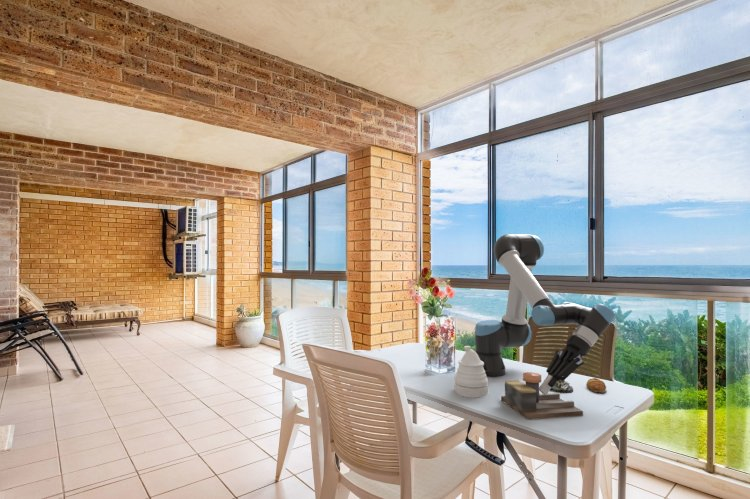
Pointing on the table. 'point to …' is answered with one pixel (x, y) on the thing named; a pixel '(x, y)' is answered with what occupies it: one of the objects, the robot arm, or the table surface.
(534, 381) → the knob
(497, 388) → the table surface
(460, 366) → the honey pot
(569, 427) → the table surface
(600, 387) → the pastry
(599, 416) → the table surface
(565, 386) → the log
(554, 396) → the brown sliding knob board
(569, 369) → the robot arm
